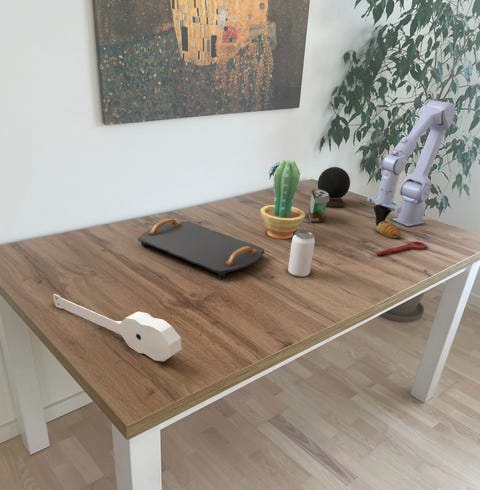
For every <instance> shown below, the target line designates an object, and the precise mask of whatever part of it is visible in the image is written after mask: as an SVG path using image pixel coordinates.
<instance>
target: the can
mask: <svg viewBox="0 0 480 490" xmlns="http://www.w3.org/2000/svg"><path fill="white" fill-rule="evenodd" d="M291 238H292V239H291V246H290V252H289V259H288V266H287V271H288V273H289V274H290V275H292V276H293V277H300V278H303V277H307V276H309V275H310V274H311V268H312V262H313V256H314V249H315V243H316V239H315V234H314V233H313V232H311V231H308V230H297V231H296V230H295V231H294V234H293V236H292V237H291Z"/></svg>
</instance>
